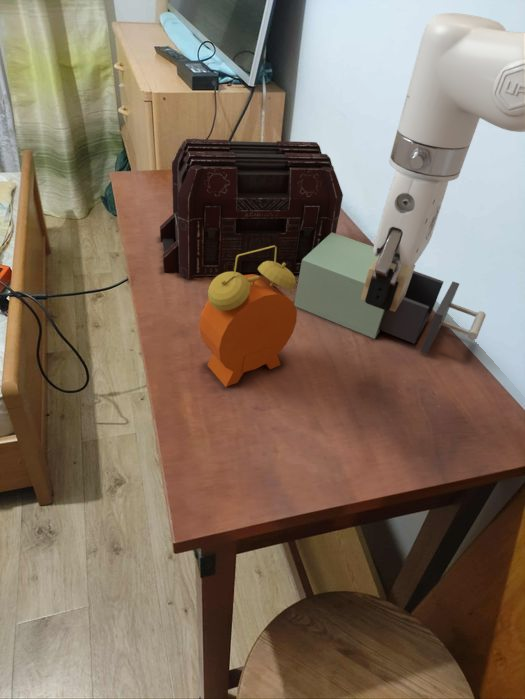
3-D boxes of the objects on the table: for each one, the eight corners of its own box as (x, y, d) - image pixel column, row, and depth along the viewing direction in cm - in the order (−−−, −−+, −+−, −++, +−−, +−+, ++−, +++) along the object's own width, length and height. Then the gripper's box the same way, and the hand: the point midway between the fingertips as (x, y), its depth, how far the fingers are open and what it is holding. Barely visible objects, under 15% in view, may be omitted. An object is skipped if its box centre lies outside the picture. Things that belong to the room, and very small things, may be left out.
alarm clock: (267, 340, 83) (283, 229, 71) (289, 362, 80) (310, 250, 67) (196, 366, 77) (199, 249, 64) (217, 391, 73) (225, 273, 60)
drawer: (477, 332, 90) (494, 295, 85) (462, 368, 82) (481, 330, 77) (369, 291, 96) (379, 255, 91) (346, 320, 88) (356, 283, 83)
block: (405, 295, 67) (415, 264, 64) (394, 312, 63) (405, 281, 60) (372, 283, 68) (381, 253, 65) (360, 299, 65) (369, 268, 62)
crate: (317, 230, 115) (333, 134, 102) (344, 274, 100) (367, 168, 87) (159, 232, 107) (155, 129, 94) (164, 279, 93) (159, 165, 80)
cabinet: (397, 304, 95) (412, 260, 89) (374, 339, 87) (389, 292, 80) (322, 276, 100) (331, 232, 94) (293, 305, 92) (301, 259, 85)
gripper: (444, 189, 47) (391, 341, 59) (478, 143, 59) (428, 277, 70) (368, 167, 49) (332, 317, 61) (415, 127, 61) (377, 259, 73)
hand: (384, 294), depth 66 cm, fingers closed on block, 4 cm apart
